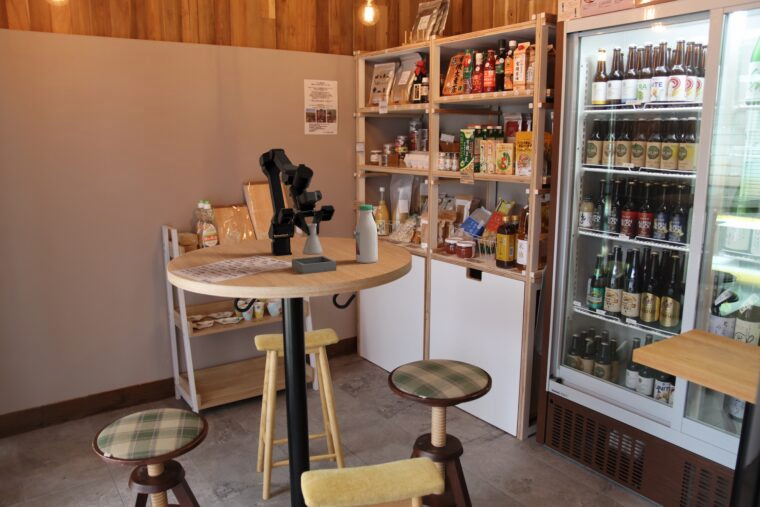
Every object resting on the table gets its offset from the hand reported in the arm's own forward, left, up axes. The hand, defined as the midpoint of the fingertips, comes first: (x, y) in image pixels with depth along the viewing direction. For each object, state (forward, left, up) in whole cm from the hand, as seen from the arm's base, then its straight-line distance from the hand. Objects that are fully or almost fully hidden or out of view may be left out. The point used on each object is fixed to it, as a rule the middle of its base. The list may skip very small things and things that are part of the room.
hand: (313, 234), depth 202 cm
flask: (0, -1, -7) cm, 7 cm away
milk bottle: (-21, -4, -12) cm, 25 cm away
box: (0, -1, -12) cm, 12 cm away
